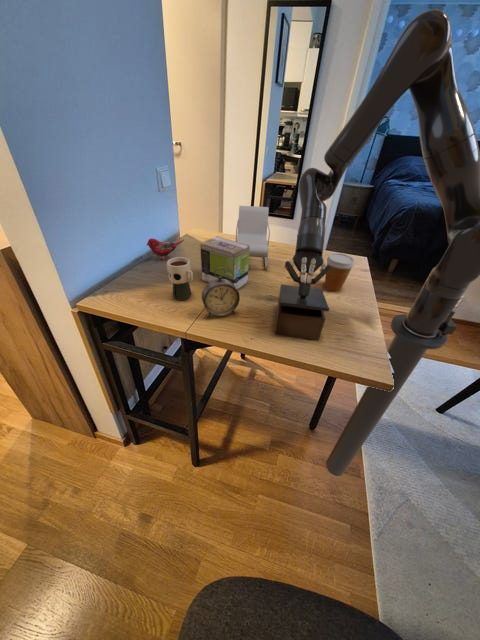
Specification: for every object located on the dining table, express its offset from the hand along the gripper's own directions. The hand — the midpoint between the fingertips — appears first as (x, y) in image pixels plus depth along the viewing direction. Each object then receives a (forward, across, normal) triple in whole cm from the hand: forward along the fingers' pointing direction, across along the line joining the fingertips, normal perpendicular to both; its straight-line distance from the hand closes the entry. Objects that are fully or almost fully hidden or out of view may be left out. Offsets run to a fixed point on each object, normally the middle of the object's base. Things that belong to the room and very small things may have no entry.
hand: (303, 297), depth 72 cm
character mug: (+2, -39, +14) cm, 42 cm away
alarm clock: (+7, -24, +9) cm, 27 cm away
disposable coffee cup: (-12, +14, +28) cm, 33 cm away
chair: (-24, -20, +41) cm, 51 cm away
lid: (-1, 0, +3) cm, 3 cm away
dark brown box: (+6, 0, +10) cm, 11 cm away
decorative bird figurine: (-18, -55, +34) cm, 67 cm away
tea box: (-8, -27, +24) cm, 37 cm away
